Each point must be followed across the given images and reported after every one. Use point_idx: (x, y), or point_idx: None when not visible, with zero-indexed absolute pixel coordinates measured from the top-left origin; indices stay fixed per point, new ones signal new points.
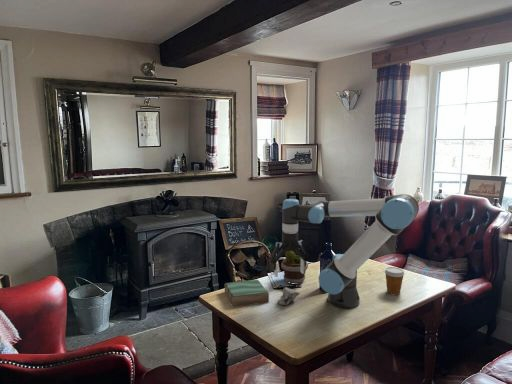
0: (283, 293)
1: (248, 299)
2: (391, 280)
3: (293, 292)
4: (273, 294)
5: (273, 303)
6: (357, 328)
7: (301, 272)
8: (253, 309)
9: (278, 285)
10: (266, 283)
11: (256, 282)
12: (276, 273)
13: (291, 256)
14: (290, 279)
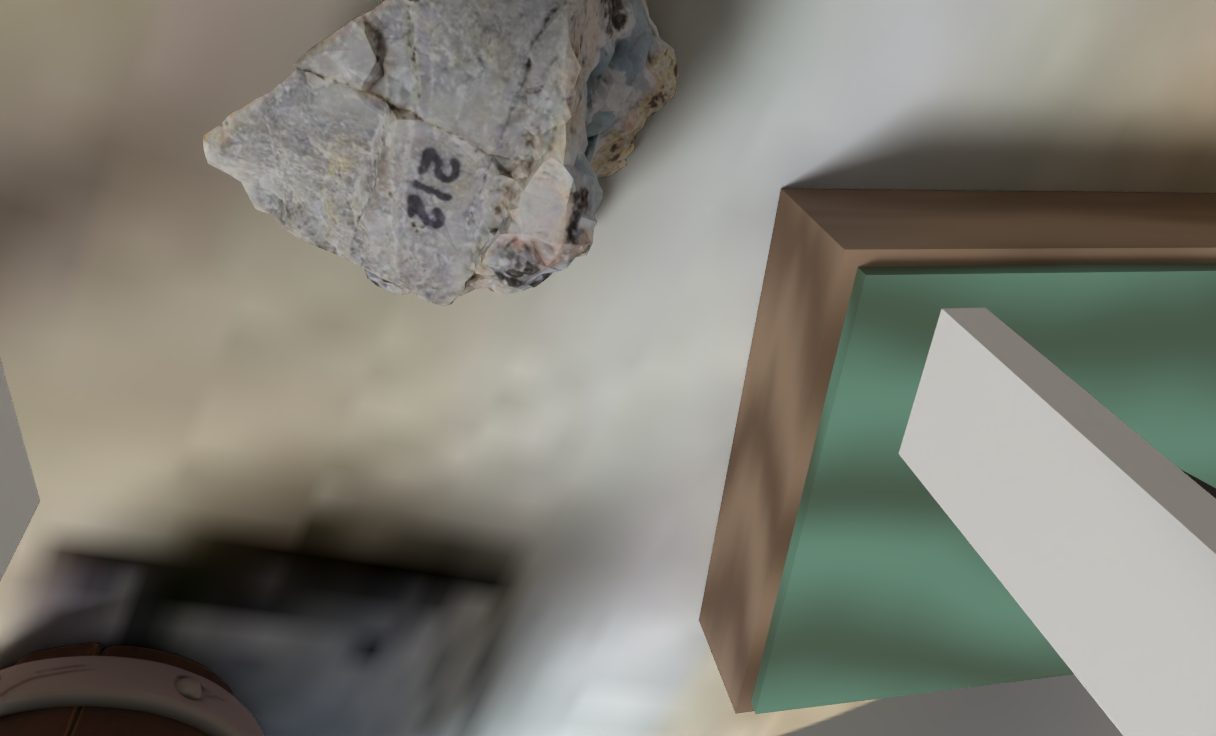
0: (592, 171)
1: (1133, 223)
2: None
3: (424, 30)
4: (593, 411)
5: (737, 120)
6: None
7: (12, 428)
8: (1107, 22)
9: (402, 647)
10: (538, 712)
11: (822, 629)
12: (1040, 364)
13: None
14: (198, 714)
